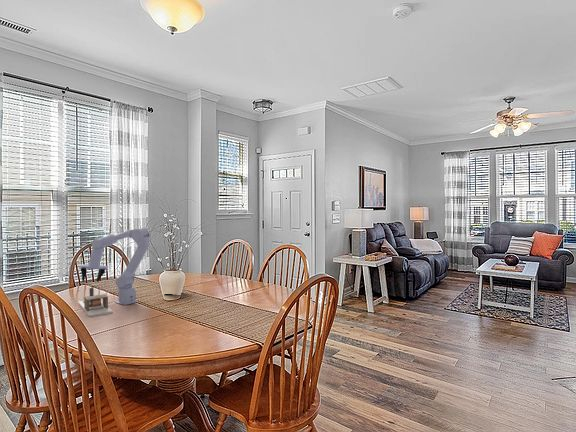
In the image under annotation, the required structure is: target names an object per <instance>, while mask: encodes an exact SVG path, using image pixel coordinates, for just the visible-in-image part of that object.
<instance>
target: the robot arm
mask: <svg viewBox="0 0 576 432" xmlns="http://www.w3.org/2000/svg"><path fill="white" fill-rule="evenodd" d="M150 237H151V234H150V232H149V229H147V228H146V227H142V228H135V229H129V230H125V231H122V232H121V233H118V234H114V233H107V235H105V236H104V235H103V236H100V238H93V240H92V241H91V247H92V249H91V254H90V257H89V261H88V264H86V263H85V264H79V267H78V268H79V269H80V271H81V281H82V282H85V279H86V274H87V273H88V271H87V270H97V277H96V282H97V283H98V282H99V281H100V280H101V278H102V277H103V275H104V274H105V273H106V271H108V266H107V265H101V261H102V258H103V253H104V250H105V248H106V247H108V246H112V245H114V244H117V243H118V241H120V240H123V239H126V238H129V239H132V240H133V241H134V242H135V244H136V245H137V248H136V249H135V251H134V254H133V255H132V256H131V259H130V261H129V262H128V264H127V266H126V268H125V270H124V271H123V272H122V273H121V274H120V275H119V277H117V278H116V279H115V285H116V286H117V288H118V295H117V296H118V300H116V301H115V303H114V304H119V305H124V306H126V305H130V304H133V303H134V304H135V303H137V302H138V301H137V291H136V289H135V288H133V284H134V282H135V277H136V272H137V270H138V267H139V266H140V264H141V262H142V260H143V258H144V256H145V255H146V253H147V250H149V248H150V247H149V246H150Z"/></svg>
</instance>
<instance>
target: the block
mask: <svg viewBox="0 0 576 432" xmlns="http://www.w3.org/2000/svg"><path fill="white" fill-rule="evenodd" d="M101 301H102V299H96V300H91V307H93V306H100V305H101Z"/></svg>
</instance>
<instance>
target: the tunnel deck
mask: <svg viewBox="0 0 576 432" xmlns="http://www.w3.org/2000/svg"><path fill="white" fill-rule="evenodd" d="M83 298H84V299H83V300H78V301H77V304H78V305H79V306H80V308H81V307H82V308H81V309H82V310H83V312H84V313H85V314H86V315H87V317H89V318H90V317H96V316H102V315H103V316H104V315H107V314H112V313H113V310H112V309H111V308H110V307H109V296H108V295H106V294H105V293H104V294H102V293H101V294H98V295H96V294H94V296H90V295H89V296H88V295H87V296H84V297H83ZM96 299H101V303H102V305H104V308H99V309H92V310H90V304H89V302H90V300H96Z"/></svg>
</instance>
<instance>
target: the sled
mask: <svg viewBox="0 0 576 432" xmlns="http://www.w3.org/2000/svg"><path fill="white" fill-rule="evenodd" d="M88 291H89V296H95V294H94V293H95V292H94V287H89V290H88ZM89 304H90V310H92V309H99V308H104V305H102V303H101V305H100V306H93V307H91V300H90V302H89Z"/></svg>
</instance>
